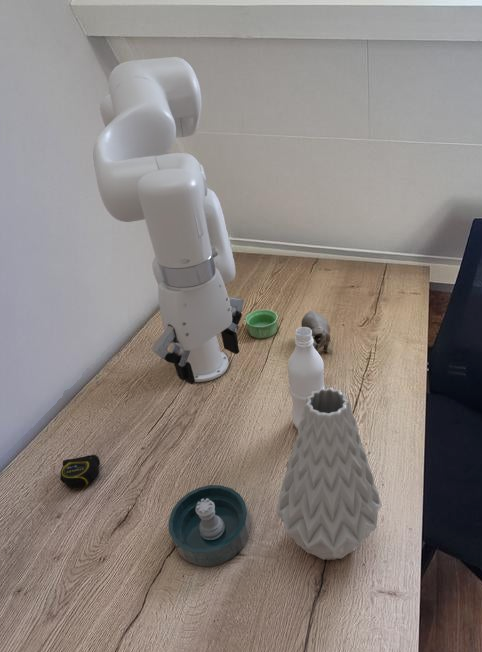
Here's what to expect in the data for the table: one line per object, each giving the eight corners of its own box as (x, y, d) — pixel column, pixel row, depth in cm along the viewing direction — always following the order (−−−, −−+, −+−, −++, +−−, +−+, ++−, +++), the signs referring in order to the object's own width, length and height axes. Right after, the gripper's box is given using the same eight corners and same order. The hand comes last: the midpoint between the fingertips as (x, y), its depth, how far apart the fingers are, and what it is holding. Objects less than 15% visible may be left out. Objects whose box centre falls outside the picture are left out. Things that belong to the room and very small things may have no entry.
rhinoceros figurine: (332, 320, 126) (327, 298, 111) (334, 368, 123) (329, 351, 108) (305, 322, 127) (296, 300, 112) (306, 369, 124) (297, 353, 110)
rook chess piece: (214, 545, 79) (205, 520, 74) (195, 534, 81) (185, 508, 75) (230, 526, 82) (222, 500, 76) (211, 515, 84) (202, 489, 78)
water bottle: (322, 439, 97) (319, 344, 80) (289, 435, 98) (280, 341, 81) (327, 416, 102) (326, 322, 85) (296, 412, 103) (288, 319, 86)
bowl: (160, 537, 81) (152, 522, 78) (215, 489, 89) (211, 473, 85) (209, 583, 75) (203, 568, 71) (265, 526, 82) (262, 510, 79)
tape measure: (103, 462, 95) (96, 450, 92) (98, 488, 90) (91, 477, 87) (69, 468, 94) (62, 456, 92) (62, 494, 89) (54, 483, 87)
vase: (263, 531, 81) (236, 395, 59) (333, 483, 88) (333, 346, 66) (321, 604, 71) (316, 475, 49) (396, 544, 78) (421, 406, 56)
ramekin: (285, 327, 129) (283, 314, 126) (266, 343, 124) (264, 330, 121) (259, 319, 133) (258, 306, 130) (240, 334, 127) (238, 321, 124)
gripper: (215, 240, 70) (232, 333, 81) (119, 286, 60) (154, 383, 72) (250, 252, 66) (263, 347, 78) (153, 303, 57) (184, 403, 68)
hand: (210, 364), depth 75 cm, fingers open, 9 cm apart
